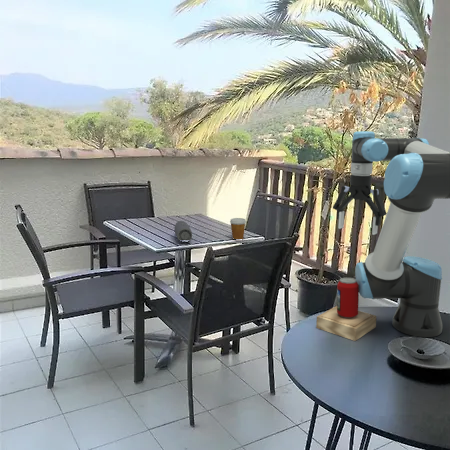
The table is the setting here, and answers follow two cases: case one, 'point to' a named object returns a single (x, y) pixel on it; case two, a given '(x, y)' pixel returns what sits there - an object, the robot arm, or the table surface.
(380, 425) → the table surface
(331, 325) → the square tray
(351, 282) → the beverage can
